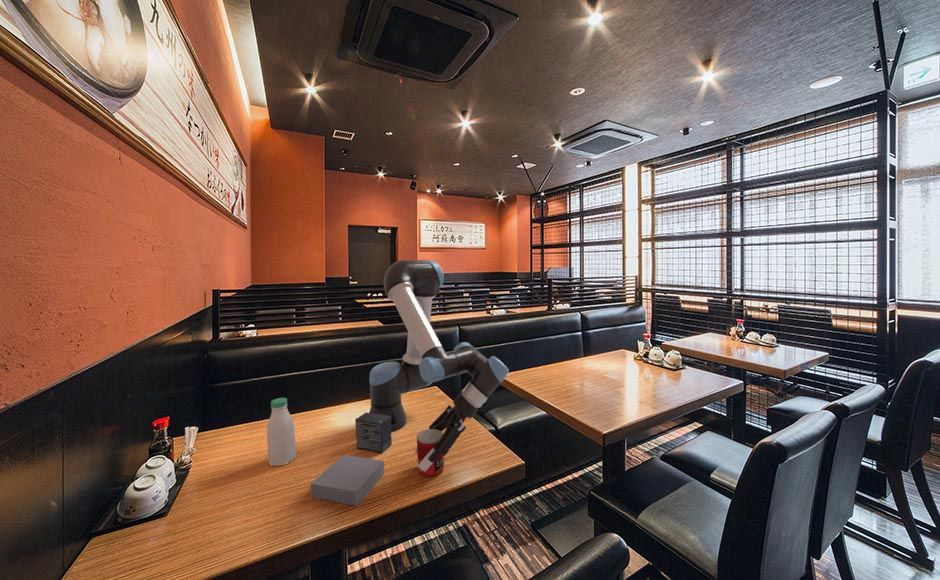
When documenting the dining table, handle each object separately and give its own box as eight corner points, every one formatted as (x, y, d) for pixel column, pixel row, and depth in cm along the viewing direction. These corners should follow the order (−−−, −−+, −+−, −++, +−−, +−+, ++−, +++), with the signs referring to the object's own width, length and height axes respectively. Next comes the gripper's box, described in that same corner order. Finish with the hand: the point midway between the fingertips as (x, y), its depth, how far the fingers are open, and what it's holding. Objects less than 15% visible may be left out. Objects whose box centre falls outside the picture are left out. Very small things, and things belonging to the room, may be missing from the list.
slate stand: (343, 467, 104) (343, 454, 103) (384, 473, 100) (383, 460, 100) (311, 497, 90) (310, 483, 90) (357, 506, 87) (356, 491, 86)
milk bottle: (301, 456, 110) (297, 397, 109) (279, 469, 103) (275, 406, 102) (285, 451, 114) (282, 394, 112) (263, 463, 107) (259, 402, 105)
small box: (393, 444, 117) (391, 415, 116) (382, 454, 111) (381, 423, 110) (367, 439, 120) (366, 411, 120) (355, 449, 114) (354, 419, 113)
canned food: (440, 479, 97) (439, 442, 96) (414, 476, 99) (412, 440, 98) (447, 463, 105) (446, 429, 104) (422, 461, 106) (421, 427, 105)
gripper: (489, 422, 95) (435, 488, 92) (468, 395, 115) (423, 449, 111) (471, 406, 93) (415, 474, 90) (453, 382, 113) (406, 436, 109)
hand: (419, 460), depth 100 cm, fingers closed on canned food, 8 cm apart
